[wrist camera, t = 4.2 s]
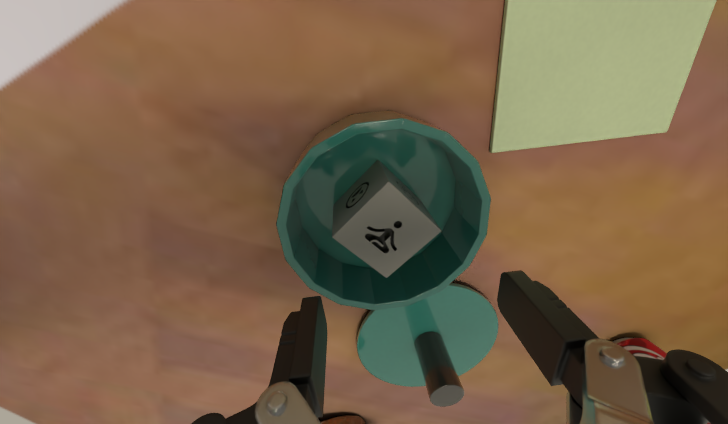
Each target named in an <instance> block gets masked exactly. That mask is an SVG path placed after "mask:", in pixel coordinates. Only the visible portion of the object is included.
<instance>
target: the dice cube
mask: <svg viewBox="0 0 728 424" xmlns="http://www.w3.org/2000/svg"><path fill="white" fill-rule="evenodd" d="M440 232H441V229H440V228H439V226H438V225H437V223H436V222H435V221H434V219H433V218H432V216H431V215H430V213H429V212H428V210H427V209H426V207H425V206H424V204H423V203H422V202H421V200H420V199H419V198H418V197H417V196H415V195H414V194H413V193H412V192H411V191H410V190H409V189H408V188H407V187H406V186H405V185H404V184H403V183H402V182H401V181H400V180H399V179H398V178H397V177H396V176H395V175H394V174H393V173H391V172H390V171H389V170H388V169H387V168H386V167H385V166H384V165H383V164H382V163H381V162H380V161H379V160H377V161H376V162H375V163H374V164H373V165H372V166H371V167H370V168H369V169H368V170H367V171H366V172H365V173H364V174H363V175H362V176H361V177H360V178H359V179H358V180H357V181H356V182H355V183H354V184H353V185H352V186H351V187H350V188H349V189H348V190H347V192H346V193H345V194H344V195H343V196H342V197H341V198H340V199H339V200H338V201H337V202H336V203H335V204H334V205H333V226H332V238H334V239H335V240H336V241H338V242H339V243H340V244H342V245H343V246H344V247H346V248H347V249H348V250H350V251H351V252H352V253H354V254H355V255H356V256H358V257H359V258H360V259H362V260H363V261H364V262H366V263H367V264H368V265H370V266H371V267H372V268H374V269H375V270H376V271H378V272H379V273H380V274H382V275H383V276H384V277H386V278H387V277H388V276H390V275H391V274H392V273H393V272H394V271H395V270H397V269H398V268H399V267H400V266H401V265H403V264H404V263H405V262H406V261H407V260H408V259H410V258H411V257H412V256H413V255H414V254H415V253H417V252H418V251H419V250H420V249H421V248H422V247H424V246H425V245H426V244H427V243H428V242H429V241H431V240H432V239H433V238H434V237H435V236H436V235H438V234H439V233H440Z"/></svg>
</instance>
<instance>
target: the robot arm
mask: <svg viewBox="0 0 728 424" xmlns="http://www.w3.org/2000/svg"><path fill="white" fill-rule="evenodd" d="M497 302H498V307H499V309H500V312H501V313H502V315H503V316H504V318H505V319H506V321H507V322H508V324H509V325H510V327H511V328H512V330H513V331H514V332H515V334H516V335H517V337H518V338H519V340H520V341H521V343H522V344H523V346H524V347H525V348H526V350H527V351H528V353H529V354H530V356H531V357H532V359H533V360H534V362H535V363H536V364H537V366H538V367H539V369H540V370H541V372H542V373H543V375H544V376H545V378H546V379H547V380H548V382H549V383H550V385H551V386H554V385H561V384H564V386H565V387H566V388H567V390H568V392H567V396H566V424H707V423H708V422H710V423H711V424H728V372H727V371H725V370H724V369H723V368H722V367H720V366H719V365H718V364H716V363H714V362H713V361H711V360H709V359H707V358H705V357H703V356H701V355H699V354H696V353H693V352H690V351H685V350H671V351H669V352H668V353H667V355H666V356H665V358H664V360H661V359H654V358H648V357H641V356H634V355H632V354H631V353H630V352H629V351H628V350H626V349H625V348H623V347H622V346H620V345H618V344H616V343H614V342H611V341H608V340H605V339H599V338H598V337H597V336H596V335H595V334H594V333H593V332H592V331H591V330H590V329H589V328H588V327H587V326H586V325H585V324H584V323H583V322H582V321H581V320H580V319H579V318H578V317H577V316H576V315H575V314H574V313H573V312H572V311H571V310H570V309H569V308H567V307H566V305H565V304H564V303H563V302H562V301H561V300H559V298H558V297H557V296H556V295H555V294H554V293H553V292H552V291H551V290H550V289H549V288H548V287H546V286H544V285H543V284H541V283H539V282H538V281H532V280H531V279H530V278H529V277H528V276H527V275H526V274H525V273H524V272H523V271H520V270H519V271H512V272H504V273H502V274H501V278H500V285H499V291H498V298H497ZM326 349H327V323H326V318H325V314H324V309H323V305H322V300H321V297H320V296H315V297H307V298H303V299H302V304H301V309H300V311H297V312H291V313H290V315H289V316H288V318H287V319H286V321H285V322H284V325H283V329H282V336H281V338H280V342H279V346H278V351H277V355H276V359H275V363H274V368H273V372H272V376H271V381H270V384H269V386H268V388H267V389H266V390H265V391H264V392H263V393H262V394H261V396H260V397H259V399H258V401H257V402H256V403H255V404H253V405H252V406H251V407H249V408H247V409H245V410H243V411H241V412H239V413H237V414H234V415H232V416H230V417H228V418H226V419H225V418H224V416H222V415H221V414H219V413H209V414H206V415H204V416H202V417H200V418H198V419H197V420H195V421H194V422H193V423H192V424H321V422H320V421H319V419H318V418H319V417H323V404H324V386H325V367H326Z"/></svg>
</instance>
